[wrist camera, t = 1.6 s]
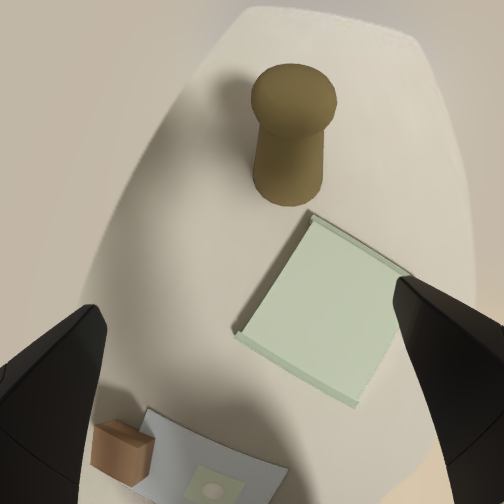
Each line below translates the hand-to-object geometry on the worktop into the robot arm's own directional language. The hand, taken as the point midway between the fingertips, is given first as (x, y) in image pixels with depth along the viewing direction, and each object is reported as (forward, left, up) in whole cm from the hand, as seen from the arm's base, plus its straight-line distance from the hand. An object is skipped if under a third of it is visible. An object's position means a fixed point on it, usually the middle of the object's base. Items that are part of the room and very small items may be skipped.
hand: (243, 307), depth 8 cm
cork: (+5, -12, -14) cm, 19 cm away
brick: (+3, +15, -14) cm, 21 cm away
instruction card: (-3, +14, -14) cm, 20 cm away
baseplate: (-4, -4, -14) cm, 15 cm away
